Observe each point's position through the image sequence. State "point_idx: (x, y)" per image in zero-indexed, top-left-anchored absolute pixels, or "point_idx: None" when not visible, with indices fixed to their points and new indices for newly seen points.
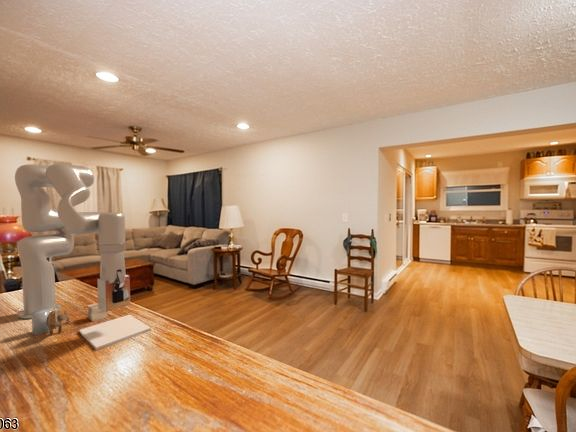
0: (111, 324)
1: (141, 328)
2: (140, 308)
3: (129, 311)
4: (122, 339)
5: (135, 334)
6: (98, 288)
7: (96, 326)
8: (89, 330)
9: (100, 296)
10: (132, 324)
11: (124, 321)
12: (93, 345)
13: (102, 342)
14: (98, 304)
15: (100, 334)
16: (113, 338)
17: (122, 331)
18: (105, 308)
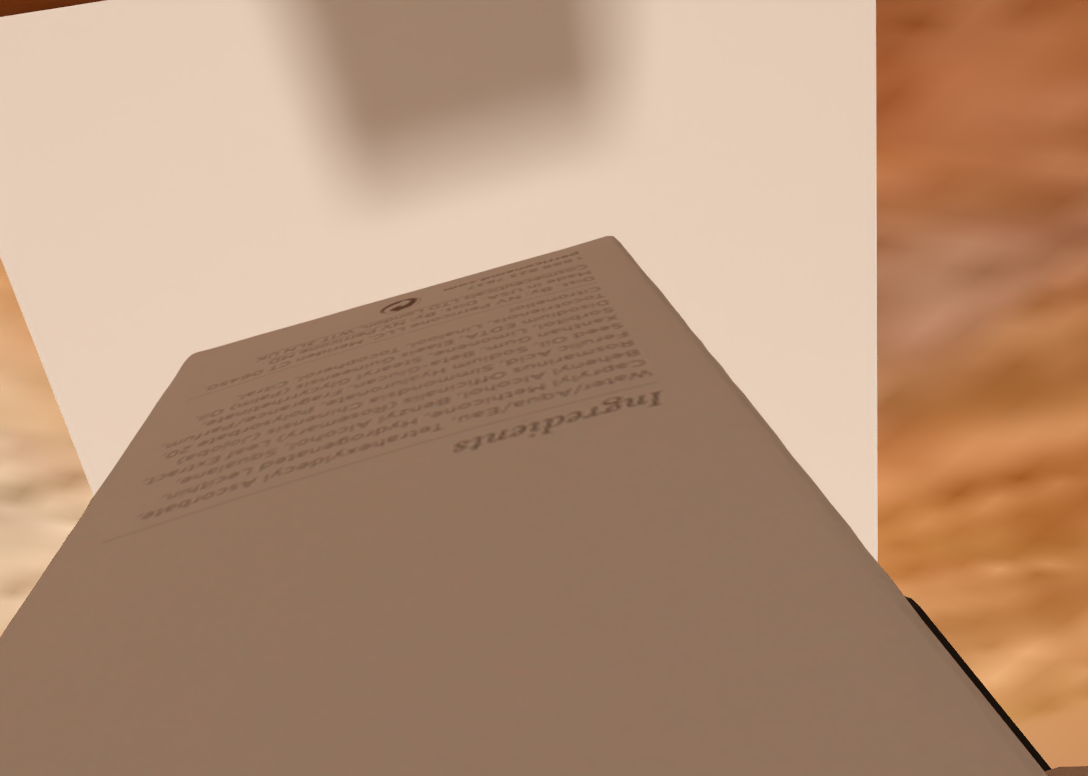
0: (696, 332)
1: None
2: (1037, 703)
3: (1057, 585)
4: (57, 378)
5: None
6: (729, 582)
7: (798, 139)
8: (710, 24)
9: (451, 439)
10: None
11: None
12: (74, 7)
13: (58, 133)
14: (598, 272)
15: (412, 149)
16: (119, 284)
17: None
18: (171, 386)
